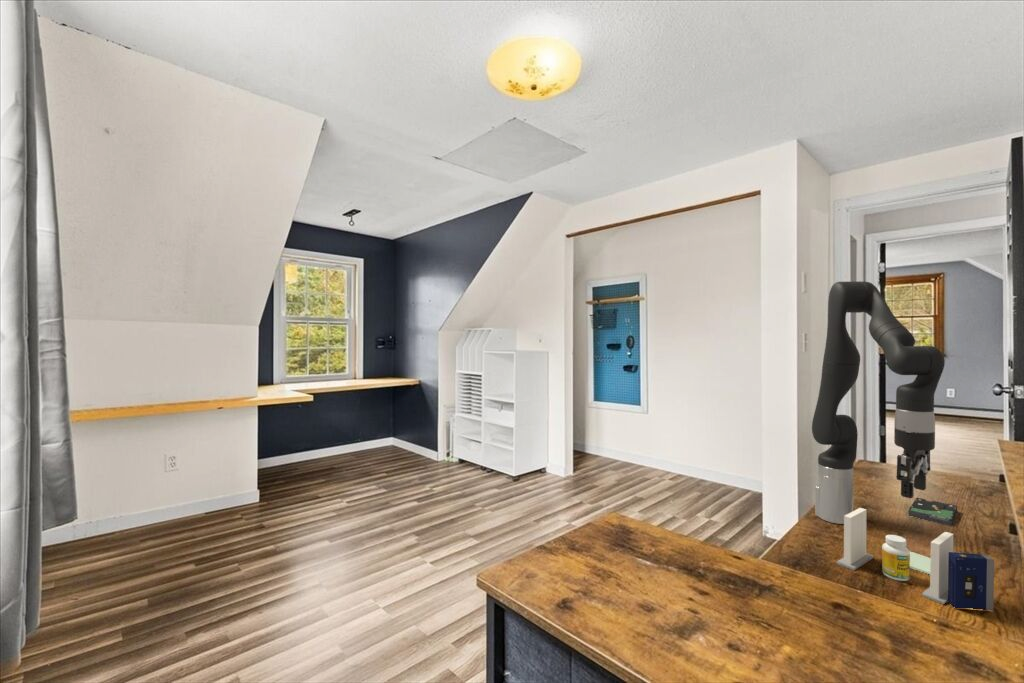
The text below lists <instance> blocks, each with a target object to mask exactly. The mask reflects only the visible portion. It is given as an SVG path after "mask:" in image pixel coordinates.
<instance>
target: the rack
mask: <svg viewBox="0 0 1024 683" xmlns="http://www.w3.org/2000/svg"><path fill="white" fill-rule="evenodd" d="M954 536H955V535H954V533H951V532H947V531H944V532H943V533H941V534H940V535H938V536H937V537H936V538H934V539H933V540H931V541H930V558H931V564H930V575H929V576H930V577H929V578H930V579H929V580H930V582H929V584H930V585H929V587H928V588H927V589H926V590H924V591H923V592H921V595H922V596H924V597H926V598H925V599H927V598H929V599H928V600H930V599H931V600H930V601H932V600H934V601H933V602H935V601H936V602H935V603H937V602H939V603H938V604H940V603H941V604H940V605H943V604H945V603H946V604H948V560H949V552H954ZM872 559H874V555H872V554H869V553H867V509H866V508H862V507H858V508H856V509H855V510H853V512H851V513H849V514H847V515H845V516H844V524H843V557H841V558H840V559H838V560H837V561H836V564H837V565H839V566H841V567H843V568H847V569H849V570H852V571H856V570H857V569H859V568H860V567H862V566H863V565H865V564H866V563H868V562H869V561H871V560H872ZM922 596H921V597H922ZM924 597H923V598H924ZM946 604H945V605H946Z"/></svg>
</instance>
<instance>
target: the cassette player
mask: <svg viewBox="0 0 1024 683" xmlns="http://www.w3.org/2000/svg"><path fill="white" fill-rule="evenodd" d="M994 592H995V559H994V558H993V557H992V556H988V555H987V554H983V553H971V552H968V553H967V552H954V551H953V552H949V560H948V602H947V604H949V605H950V604H951V605H952V606H953V607H955V608H973V609H983V610H991V611H993V612H994V604H995V602H994V601H995V600H994V598H995V597H994V596H995V595H994V594H995V593H994ZM951 605H950V606H951ZM952 606H951V607H952ZM953 607H952V608H953ZM955 608H954V609H955Z"/></svg>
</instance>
